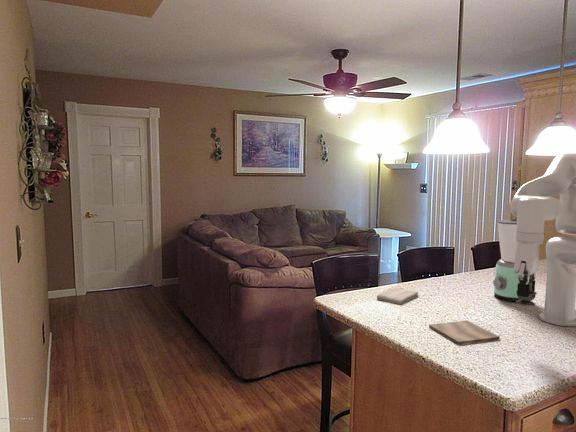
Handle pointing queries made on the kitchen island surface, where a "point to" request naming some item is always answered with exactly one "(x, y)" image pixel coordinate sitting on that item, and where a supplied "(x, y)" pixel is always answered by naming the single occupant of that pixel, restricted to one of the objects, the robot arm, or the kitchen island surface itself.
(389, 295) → the washcloth
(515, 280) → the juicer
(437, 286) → the kitchen island surface
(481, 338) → the walnut board
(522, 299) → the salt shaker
